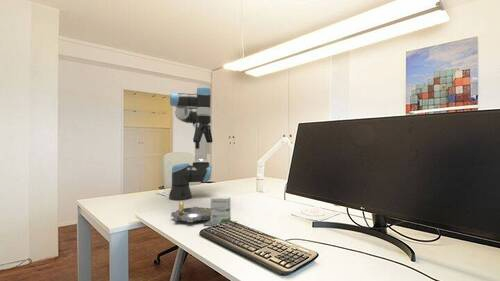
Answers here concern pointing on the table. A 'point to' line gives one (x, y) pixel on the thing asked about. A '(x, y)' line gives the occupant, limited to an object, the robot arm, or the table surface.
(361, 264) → the table surface
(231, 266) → the table surface
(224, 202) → the ink box
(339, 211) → the table surface
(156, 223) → the table surface
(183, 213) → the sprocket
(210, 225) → the pad
